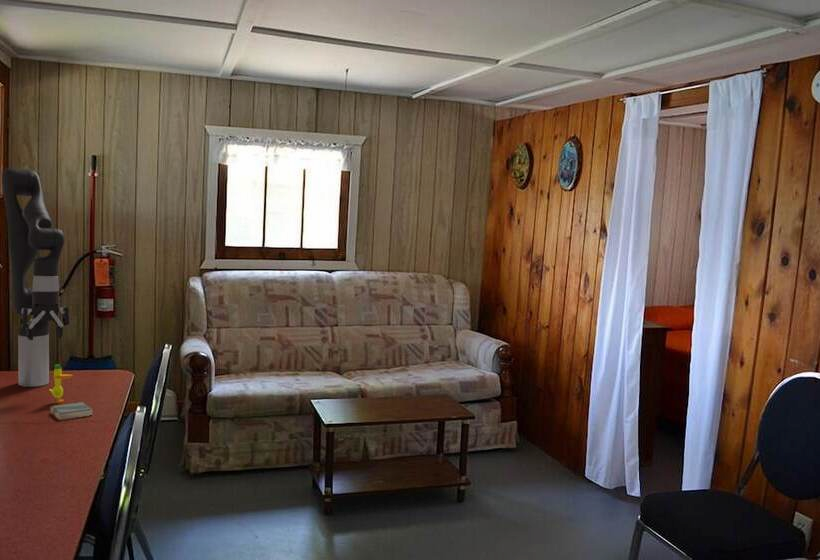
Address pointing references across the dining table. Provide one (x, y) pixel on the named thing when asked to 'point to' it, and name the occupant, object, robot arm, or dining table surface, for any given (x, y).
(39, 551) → the dining table surface
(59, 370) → the toy figure
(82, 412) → the stand
